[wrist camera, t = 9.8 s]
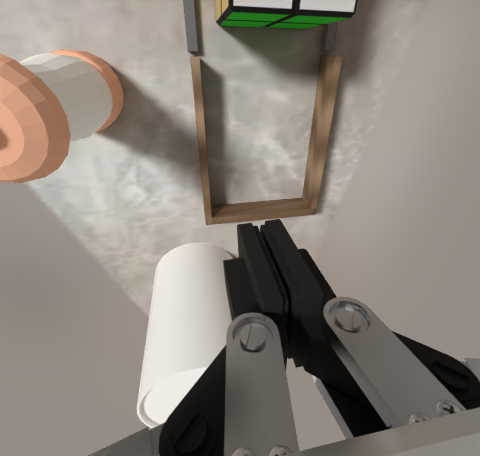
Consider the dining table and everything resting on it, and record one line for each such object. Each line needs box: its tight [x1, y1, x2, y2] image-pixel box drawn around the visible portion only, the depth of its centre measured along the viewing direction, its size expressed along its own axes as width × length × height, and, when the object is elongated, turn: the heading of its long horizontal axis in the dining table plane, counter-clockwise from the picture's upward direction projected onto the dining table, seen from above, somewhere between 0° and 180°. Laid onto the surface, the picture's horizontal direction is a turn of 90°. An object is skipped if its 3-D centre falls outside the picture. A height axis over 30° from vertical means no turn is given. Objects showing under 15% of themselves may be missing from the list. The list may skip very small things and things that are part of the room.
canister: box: [137, 243, 233, 428], centre depth 37 cm, size 14×14×20 cm
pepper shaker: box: [0, 49, 124, 183], centre depth 20 cm, size 7×7×19 cm
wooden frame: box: [191, 56, 342, 225], centre depth 33 cm, size 19×16×4 cm
